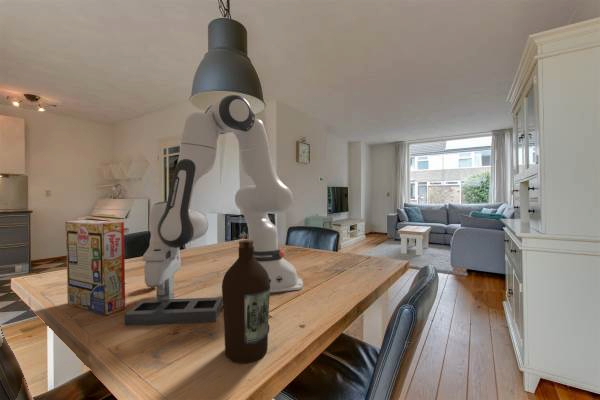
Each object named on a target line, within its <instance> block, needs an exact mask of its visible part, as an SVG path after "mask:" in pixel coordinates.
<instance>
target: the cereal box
mask: <svg viewBox="0 0 600 400" xmlns="http://www.w3.org/2000/svg"><path fill="white" fill-rule="evenodd" d="M65 242H66V243H65V245H66V247H65V248H66V278H67V279H66V284H67V285H66V286H67V287H66V288H67V289H66V290H67V305H69V306H73V307H77V308H81V309H84V310H88V311H91V312H95V313H99V314H101V315H105V316H107V315H111V314H113V313H115V312H119V311H121V310H123V309H125V308H126V276H125V275H126V273H125V267H126V265H125V222H124V221H111V220H110V221H108V220H107V221H106V220H105V221H104V220H89V219H81V220H80V219H79V220H67V221H65Z"/></svg>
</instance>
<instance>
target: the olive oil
mask: <svg viewBox="0 0 600 400" xmlns="http://www.w3.org/2000/svg"><path fill="white" fill-rule="evenodd" d="M238 245H239V246H238V257H237V259H236V260H235V262H234V263H232V265H231V266H230V267H229V268H228V269H227V270H226V272H225V274H224V275H223V278H222V279H223V280H222V283H221V293H222V296H221V297H222V298H223V307H222V311H223V312H222V313H223V329H224V330H223V331H224V353H225V356H226V357H225V358H227V360H228V361H231V362H233V363H237V364H248V363H252V362H253V363H254V362H256V361H259V360H260V359H262V358H264V356H265V355H266V354H267V352H268V344H269V339H268V337H269V333H270V325H269V324H270V323H269V315H270V312H269V311H270V296H271V295H270V294H271V293H270V279H269V276H268V273H267V271H266V270H265V269H264V267H263V266H262V265H261V264H260V263H259V262H258V261H257V260H256V259H255V258H254V247H253V241H252V240H249V239H242V240H239V241H238Z"/></svg>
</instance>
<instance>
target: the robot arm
mask: <svg viewBox="0 0 600 400" xmlns="http://www.w3.org/2000/svg"><path fill="white" fill-rule="evenodd" d="M229 133H233V134H234V135H235V137H236V139H237V141H238V146H239V147H238V148H239V154H240V159H241V165H242V170H243V172H244V174H245V175H247V176H248V177H250V178H251V180H252V181H253V183H254V184H253V185H252V184H251V185H250V184H249V185H246V186H243V187H241V188H239V189H237V191H236V192H235V195H234V202H235V206H236V207H237V208H238V210H239V211H241V213H242V214H243V216H244V219H245V221H246V226H247V229H248V231H247V232H248V240H252V241H253V247H254V258H255V259H256V260H257V261H258V262H259V263H260V264H261V265H262V266H263V267H264V269H265V270H266V271H267V273H268V276H269V279H270V294H272V293H281V292H288V291H289V292H290V291H299V290H301V289H302V288H303V287H304V282H303V279H302V278H301V277H299V276H298V273H297V269H296V267H295V266H294V265H293V264H292V263H291V262H289V261H288V260H286V259H284V256H285V253H284V251H283V249H281V248H279V247H278V246H279V245H278V241H279V240H278V235H279V234H278V228H277V226H276V225H275V224H274V223H273V222H272V221H271V219H270V218H269V214H271V215H277V214H282V213H286V212H289V210H290V209H291V208H292V206H293V204H294V195H293V193H292V191H291V189H290V188H289V187H288V186H286V185H285V183H283V182H282V181H281V178H279V176H278V174H277V173H276V171H275V170H276V169H275V168H274V164H273V159H272V153H271V148H270V143H269V138H268V135H267V131H266V127H265V125H264V123H263V121H262V120H261V119H259V118H257V117H256V116H255V113H254V112H253V109H252V106H251V105H250V103H249V101H247V99H246V98H245V97H243V96H241V95H237V94H231V95H227V96H225V97H222V98H220V99H217V100H216V102H214V103H213V104H211V105H210V106H209V107H208V108H207V110H205V112H200V111H199V112H198V111H196V112H192V113H190V114H189V115H188V116H187V117H186V120H185V123H184V126H183V131H182V134H181V138H180V139H181V141H180V148H179V155H178V159H177V163H176V165H175V168H174V170H173V174H172V178H171V182H170V185H169V187H170V188H169V191H168V197H167V201H160V202H157V203H154V204H152V205H151V209H150V210H149V211H150V212H149V221H148V222H149V224H148V225H149V227H148V228H149V231H150V237H149V238H150V239H149V246H148V248H147V250H146V251H145V252H144V254H143V256H142V260H143V262H144V266H143V267H144V270H143V271H144V283H145V285H146V287H148V288H151V287H155V288H156V287H157V288H158V294H159V295H163V294H165V292H166V288H165V287H164V284H165V281H166V280H167V279H168V278H169V277H171V276H172V275H174V276H175V274H176V273H177V272H178V271H180V270H181V266H182V264H181V263H182V261H181V252H180V248H182V247H184V246H185V245H187V244H188V243H190V242H193V241H195V240H197V239H200V238H201V237H203V236H204V235H206V233H207V231H208V228H209V222H208V221H209V220H208V218H207V216H206V215H205V214H204V213H202V212H200V211H196V210H192V209H190V208H191V203H192V197H193V193H194V188H195V185H196V183H197V182H198V181H199V180H200V179H201V178H202V177H203V176H204V175H207V174H208V173H210V172H211V171H212V170H213V168H214V165H215V162H216V157H217V149H218V140H219V136H220V135H223V134H229Z"/></svg>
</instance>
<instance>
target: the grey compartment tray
mask: <svg viewBox="0 0 600 400" xmlns="http://www.w3.org/2000/svg"><path fill="white" fill-rule="evenodd" d="M222 310H223V298H222V296H218V297H195V298H194V297H193V298H192V297H191V298H189V297H188V298H173V299H160V300H157V299H142V300H141V301H140V302H138V303H137V304H136V305H134V306H133V307H132V308H131V309H129V310H128V311H127V312H126V313H124V326H125V327H127V326H147V325H167V324H168V325H171V324H172V325H173V324H191V323H192V324H193V323H216V322H217V320H218V318H219V315H220V313H221V311H222Z"/></svg>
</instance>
